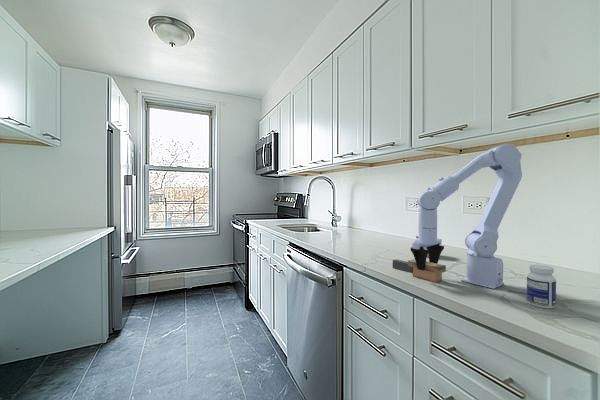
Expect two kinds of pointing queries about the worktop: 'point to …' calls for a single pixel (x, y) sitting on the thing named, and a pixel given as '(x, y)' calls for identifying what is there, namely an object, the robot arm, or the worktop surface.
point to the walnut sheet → (429, 266)
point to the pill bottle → (541, 287)
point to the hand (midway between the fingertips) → (427, 267)
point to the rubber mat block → (402, 265)
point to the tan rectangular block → (427, 275)
